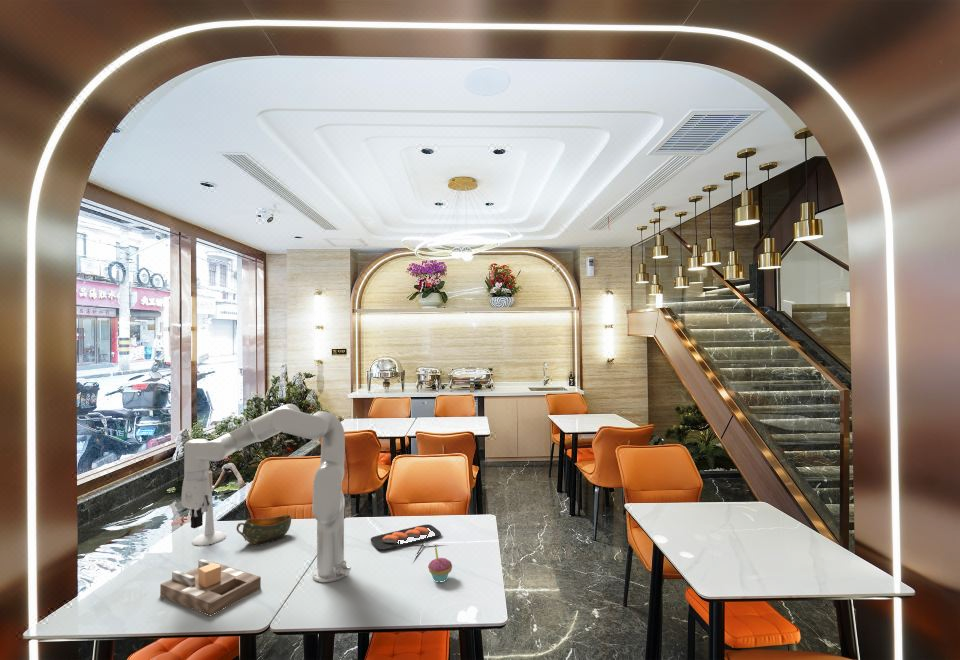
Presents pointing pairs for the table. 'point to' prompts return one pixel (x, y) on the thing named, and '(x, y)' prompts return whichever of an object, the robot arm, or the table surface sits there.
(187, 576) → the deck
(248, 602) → the table surface
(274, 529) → the green gravy boat
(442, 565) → the cupcake
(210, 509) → the candlestick
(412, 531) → the sushi plate
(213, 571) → the block
